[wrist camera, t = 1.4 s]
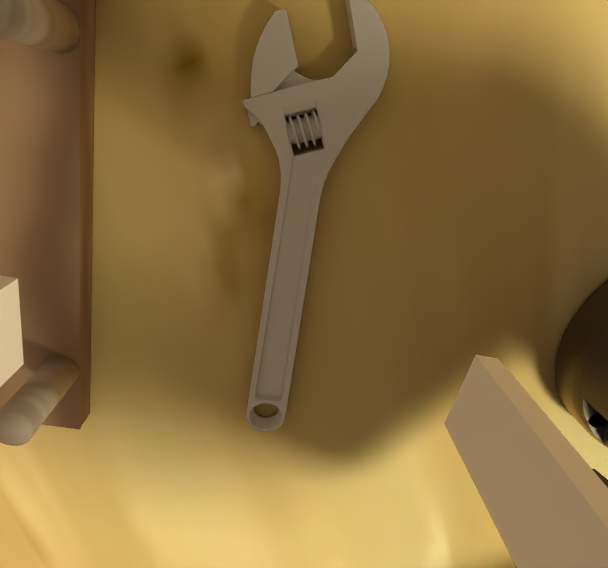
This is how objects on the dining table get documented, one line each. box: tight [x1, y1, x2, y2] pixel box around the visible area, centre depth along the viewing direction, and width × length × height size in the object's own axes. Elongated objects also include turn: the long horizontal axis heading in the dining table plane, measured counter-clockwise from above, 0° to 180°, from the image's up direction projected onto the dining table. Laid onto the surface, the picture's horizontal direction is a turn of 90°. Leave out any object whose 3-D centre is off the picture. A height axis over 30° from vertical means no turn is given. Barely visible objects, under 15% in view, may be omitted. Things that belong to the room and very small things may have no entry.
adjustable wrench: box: [242, 0, 390, 431], centre depth 23 cm, size 25×6×2 cm, turn 166°
